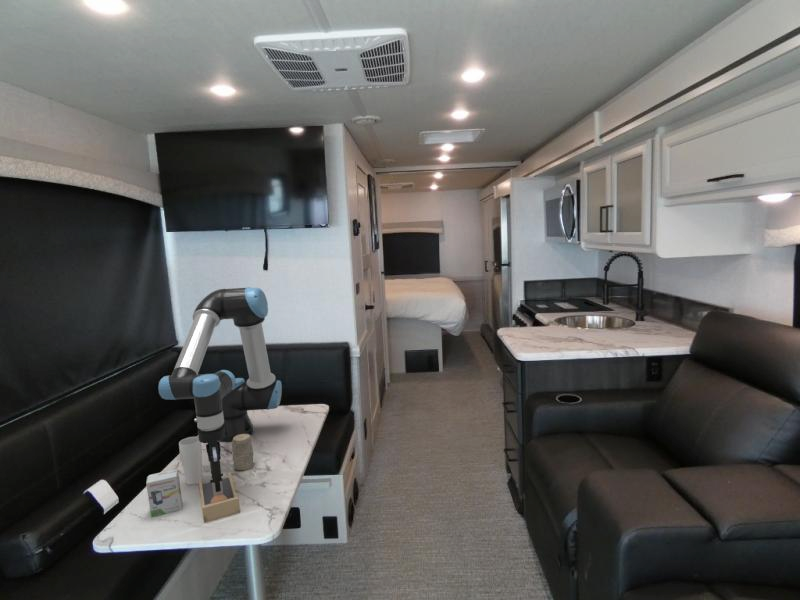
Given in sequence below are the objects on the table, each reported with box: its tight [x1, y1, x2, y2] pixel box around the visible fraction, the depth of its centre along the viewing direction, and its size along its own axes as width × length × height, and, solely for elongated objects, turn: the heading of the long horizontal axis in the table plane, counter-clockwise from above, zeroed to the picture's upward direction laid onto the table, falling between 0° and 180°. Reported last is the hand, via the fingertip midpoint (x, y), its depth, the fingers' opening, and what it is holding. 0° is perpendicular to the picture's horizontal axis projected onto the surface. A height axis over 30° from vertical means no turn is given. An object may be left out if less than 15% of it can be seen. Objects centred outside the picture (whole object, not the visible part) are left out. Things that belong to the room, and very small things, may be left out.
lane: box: [198, 471, 241, 523], centre depth 148 cm, size 24×10×5 cm, turn 26°
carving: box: [231, 434, 255, 471], centre depth 167 cm, size 6×8×12 cm
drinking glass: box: [178, 436, 204, 486], centre depth 159 cm, size 7×7×15 cm
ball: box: [210, 494, 228, 504], centre depth 141 cm, size 5×5×5 cm
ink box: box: [145, 469, 183, 518], centre depth 142 cm, size 9×5×12 cm, turn 114°
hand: (218, 499), depth 145 cm, fingers closed
